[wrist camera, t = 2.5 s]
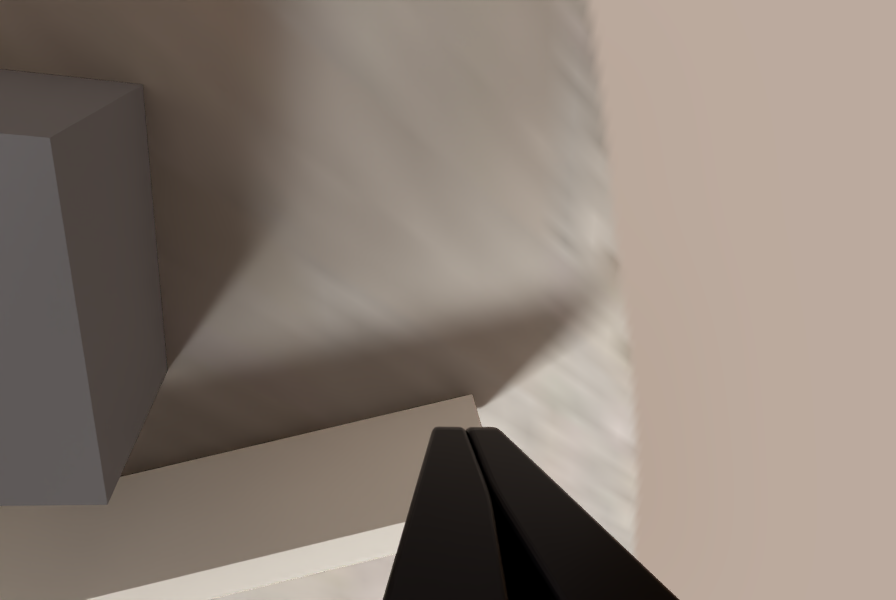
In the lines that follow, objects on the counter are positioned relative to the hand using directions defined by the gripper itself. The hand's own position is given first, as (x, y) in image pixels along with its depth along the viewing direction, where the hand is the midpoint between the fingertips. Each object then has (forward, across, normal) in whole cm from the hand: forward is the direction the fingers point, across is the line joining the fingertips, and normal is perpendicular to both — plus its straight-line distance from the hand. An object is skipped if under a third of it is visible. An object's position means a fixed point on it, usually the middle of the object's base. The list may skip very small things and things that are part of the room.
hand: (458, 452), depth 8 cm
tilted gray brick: (+6, +7, 0) cm, 9 cm away
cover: (+6, +5, +6) cm, 9 cm away
